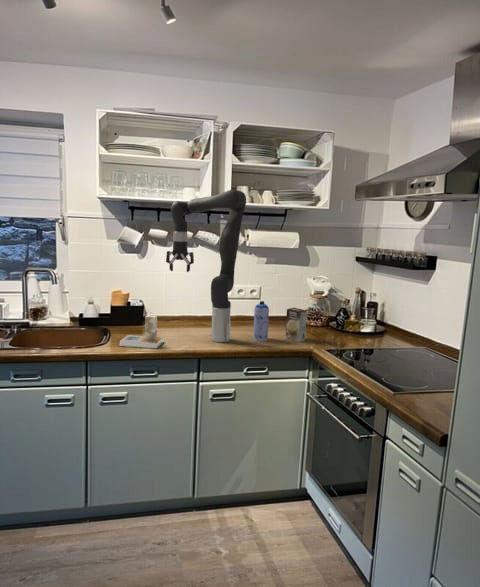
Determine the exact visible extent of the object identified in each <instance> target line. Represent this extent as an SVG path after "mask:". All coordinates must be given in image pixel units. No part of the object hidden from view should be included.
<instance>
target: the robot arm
mask: <svg viewBox="0 0 480 587" xmlns="http://www.w3.org/2000/svg"><path fill="white" fill-rule="evenodd" d="M246 206H247V196H246V194H245V193H244V192H243V191H242V190H237V189H230V190H227V191H223V192H221V193H219V194H215V195H211V196H210V195H209V196H205V197H199V198H193V199H190V200H188V201H180V200H176V201H174V202H173V203H172V205H171V207H170V214H171V217H172V222H173V234H172V251H170V250H167V251H166V259H165V262H166V263H167V264H169V271H170V272H173V271H174V264H173V263H174V262H175V261H184V262H185V263H186V264H187V265H186V273H190V271H191V265H192V264H194V263H195V260H194V258H195V257H194V252H193V251H190V252H188V245H189V244H188V242H189V241H188V240H189V238H188V222H187V221H186V220H185V219H184V216H189V215H192V214H198V213H206V212H208V211H211V210H215V209H229V214H228V219H227V222H226V224H225V226H224V227H223V229H222V231H221V234H220V239H219V246H218V248H219V249H218V250H219V257H220V263H221V264H220V271H219V275H217V276H215V277H214V278H213V279H212V281H211V285H210V302H211V305H212V309H211V310H212V312H211V341H212V342H215V343H229V342H230V340H231V326H232V325H231V324H232V321H231V310H232V309H231V308H232V302H231V301H230V299H229V292H231V291H232V290H233V288H234V285H235V284H234V283H235V269H236V268H235V267H236V266H235V265H236V261H237V256H238V255H237V254H238V250H239V243H240V242H239V241H240V234H241V230H242V229H241V228H242V223H243V222H242V221H243V216H244V214H245V209H246ZM171 255H172V258H170V257H171ZM188 256H189V258H190V260H189V258H188Z"/></svg>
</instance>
